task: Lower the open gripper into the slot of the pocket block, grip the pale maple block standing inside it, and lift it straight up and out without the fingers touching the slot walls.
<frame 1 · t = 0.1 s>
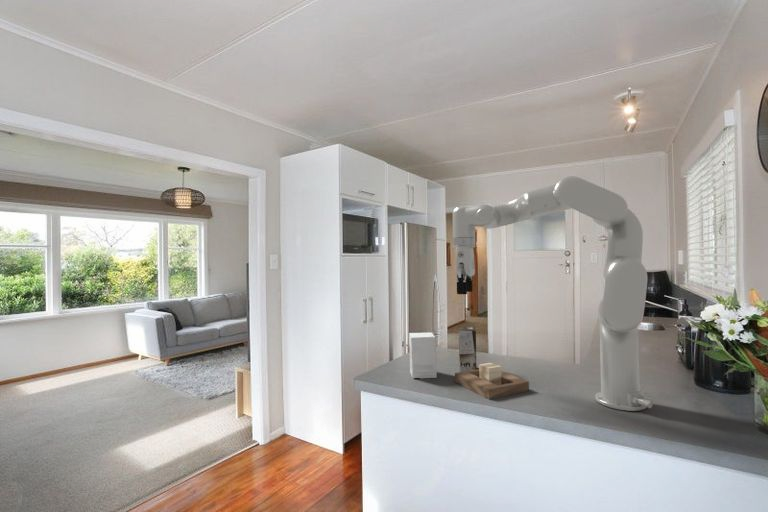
hand: (464, 292, 129), 31 cm above the counter, tool pointing down, fingers open, 9 cm apart
coffee box: (467, 370, 143), on the counter
supplement box: (422, 375, 139), on the counter
pocket block: (490, 386, 125), on the counter
maple block: (490, 375, 125), in the pocket block
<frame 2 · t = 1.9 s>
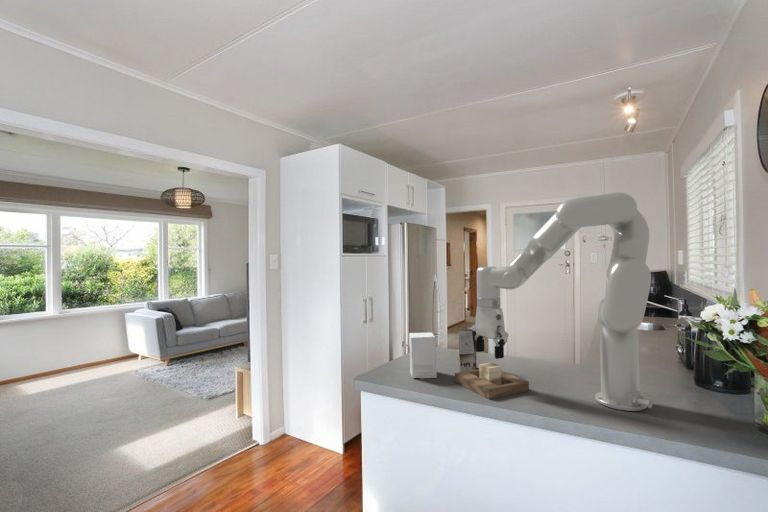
hand: (489, 354, 125), 11 cm above the counter, tool pointing down, fingers open, 9 cm apart
nothing on the counter moved.
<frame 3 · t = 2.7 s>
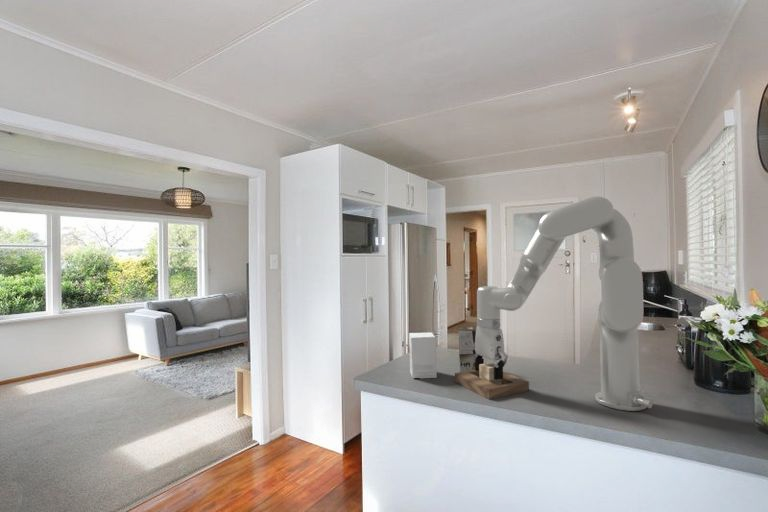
hand: (488, 374, 125), 4 cm above the counter, tool pointing down, fingers open, 9 cm apart
nothing on the counter moved.
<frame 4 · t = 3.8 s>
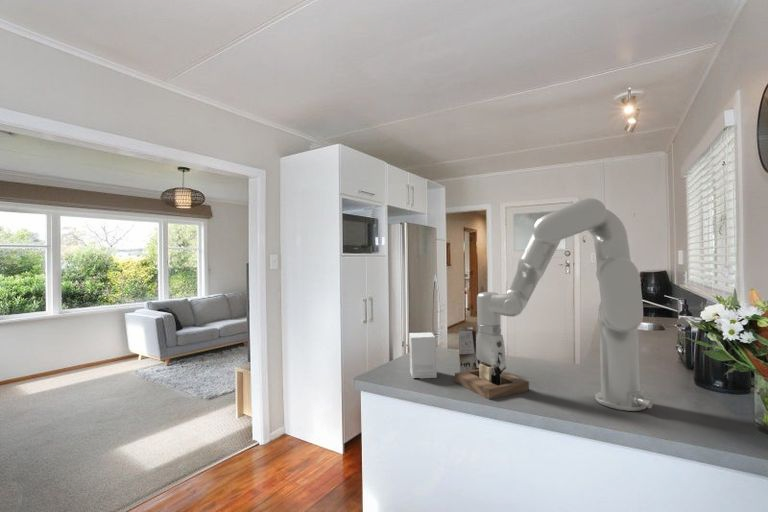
hand: (490, 383, 125), 1 cm above the counter, tool pointing down, fingers closed on maple block, 5 cm apart
maple block: (490, 375, 125), in the pocket block, touching gripper
everything else where it was.
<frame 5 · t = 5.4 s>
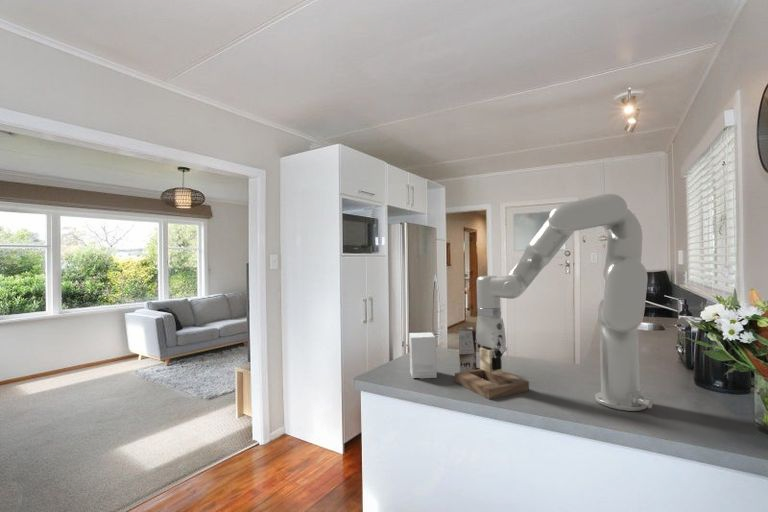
hand: (490, 366, 125), 7 cm above the counter, tool pointing down, fingers closed on maple block, 5 cm apart
maple block: (490, 359, 125), point 9 cm above the counter, touching gripper
everything else where it was.
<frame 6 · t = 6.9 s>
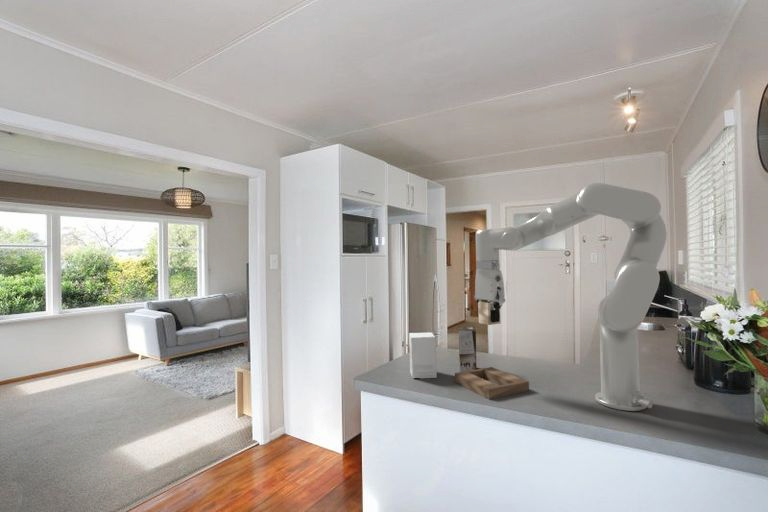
hand: (489, 320, 125), 22 cm above the counter, tool pointing down, fingers closed on maple block, 5 cm apart
maple block: (489, 312, 125), point 25 cm above the counter, touching gripper
everything else where it was.
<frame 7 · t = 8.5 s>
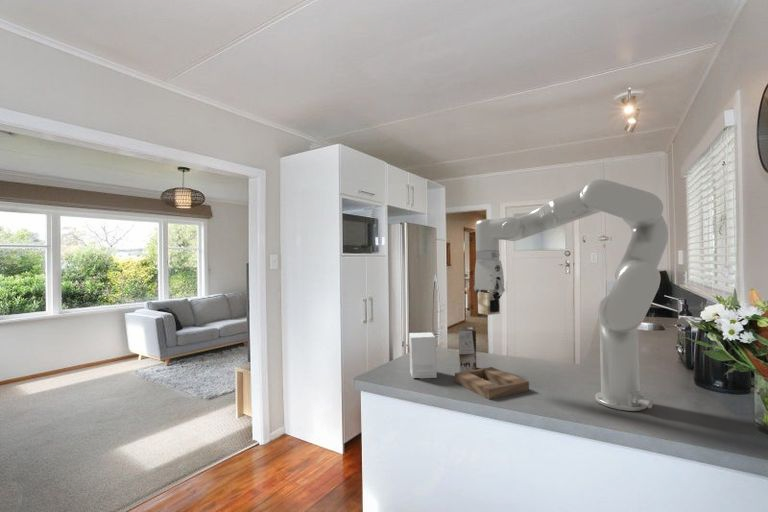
hand: (488, 310, 125), 25 cm above the counter, tool pointing down, fingers closed on maple block, 5 cm apart
maple block: (488, 302, 125), point 28 cm above the counter, touching gripper
everything else where it was.
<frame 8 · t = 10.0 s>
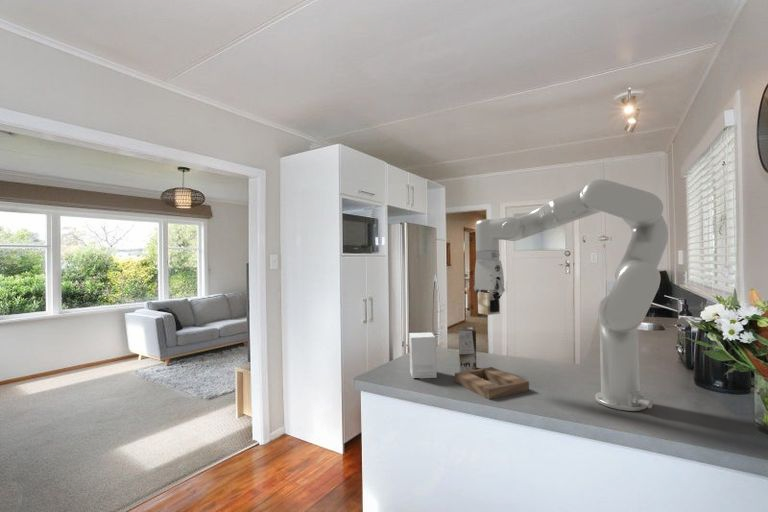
hand: (488, 310, 125), 25 cm above the counter, tool pointing down, fingers closed on maple block, 5 cm apart
maple block: (488, 302, 125), point 28 cm above the counter, touching gripper
everything else where it was.
at the end: maple block 0.0 cm off-centre on the pocket block, point 27.8 cm above the pocket block's base; the gripper is holding maple block; maple block tilted 0° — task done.
